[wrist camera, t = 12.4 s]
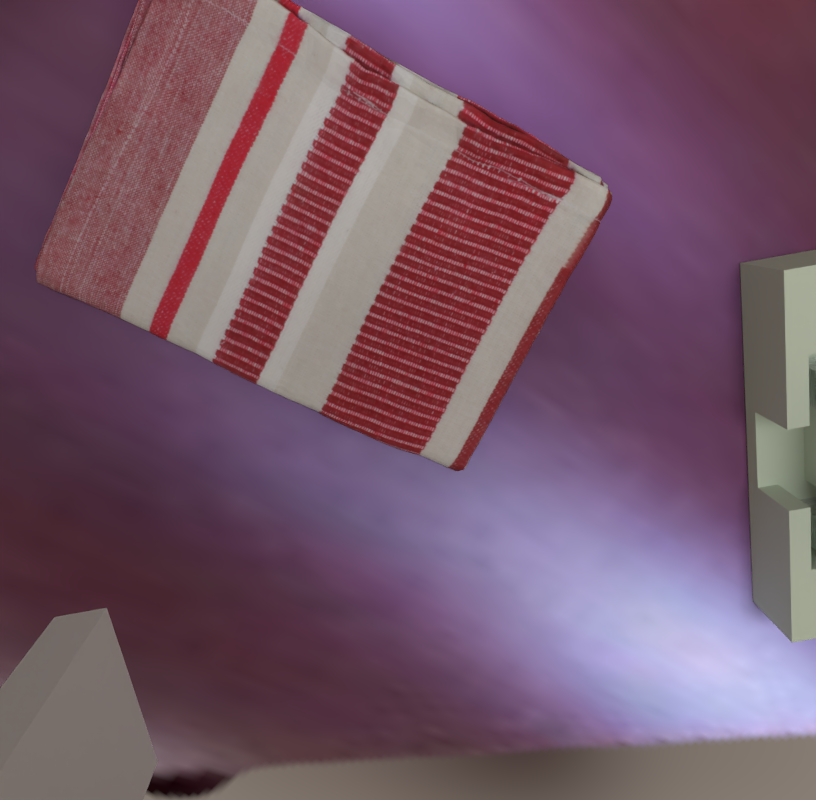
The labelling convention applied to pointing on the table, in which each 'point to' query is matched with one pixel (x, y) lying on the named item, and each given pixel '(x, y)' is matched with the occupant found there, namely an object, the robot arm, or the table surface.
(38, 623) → the table surface
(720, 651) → the table surface
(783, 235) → the table surface
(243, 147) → the dish towel
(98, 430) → the table surface
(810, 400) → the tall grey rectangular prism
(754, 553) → the rail
